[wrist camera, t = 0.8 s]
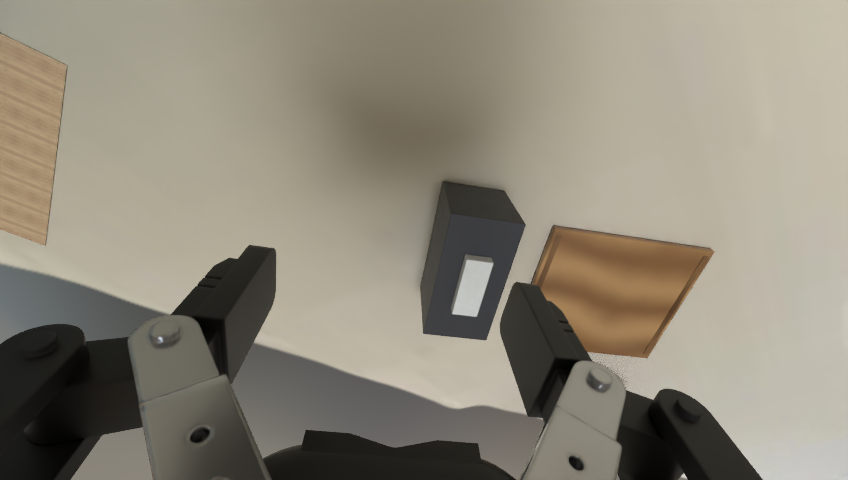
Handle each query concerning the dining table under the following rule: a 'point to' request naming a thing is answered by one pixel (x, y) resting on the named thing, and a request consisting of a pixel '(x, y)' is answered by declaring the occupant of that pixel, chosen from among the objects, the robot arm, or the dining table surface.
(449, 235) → the tissue box
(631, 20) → the dining table surface
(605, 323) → the wooden cutting board
